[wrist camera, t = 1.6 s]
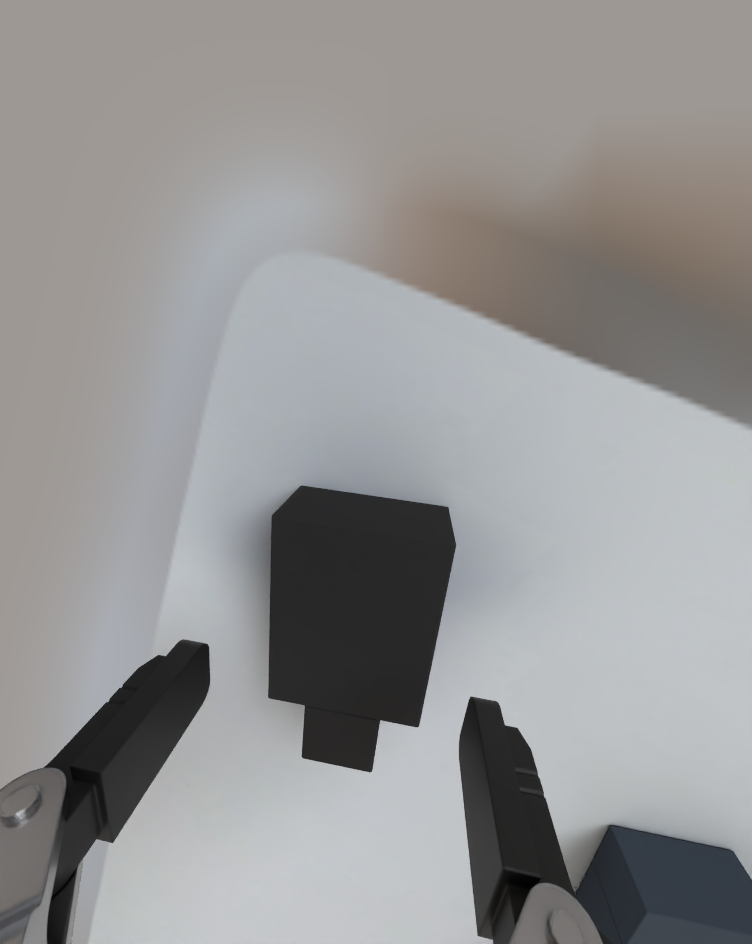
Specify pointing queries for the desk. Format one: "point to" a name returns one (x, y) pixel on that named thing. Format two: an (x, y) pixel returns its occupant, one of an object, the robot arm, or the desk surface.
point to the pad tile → (355, 615)
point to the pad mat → (666, 891)
